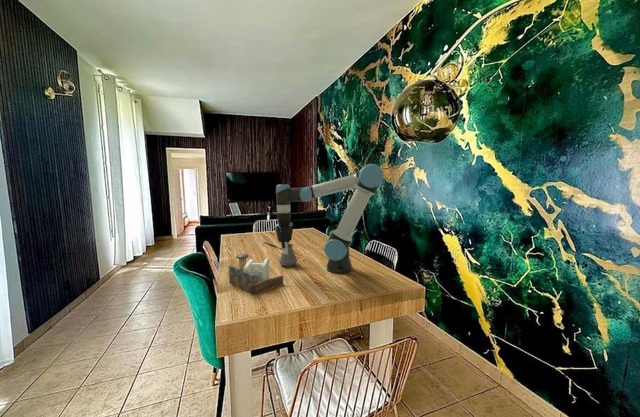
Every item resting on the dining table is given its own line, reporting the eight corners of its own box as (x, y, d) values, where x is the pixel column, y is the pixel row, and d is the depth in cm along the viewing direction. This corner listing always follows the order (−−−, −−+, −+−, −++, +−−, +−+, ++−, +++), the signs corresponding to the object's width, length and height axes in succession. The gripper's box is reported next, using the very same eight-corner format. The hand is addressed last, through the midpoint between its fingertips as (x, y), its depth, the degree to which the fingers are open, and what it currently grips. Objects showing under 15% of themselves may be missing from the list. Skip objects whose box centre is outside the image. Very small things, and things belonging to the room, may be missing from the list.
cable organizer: (265, 289, 127) (264, 265, 126) (243, 289, 127) (242, 266, 126) (269, 278, 142) (269, 257, 141) (250, 278, 142) (249, 257, 141)
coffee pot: (297, 262, 171) (297, 239, 170) (296, 267, 160) (296, 243, 159) (265, 262, 170) (264, 240, 169) (261, 268, 159) (261, 244, 158)
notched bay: (283, 283, 134) (282, 266, 133) (252, 294, 121) (252, 275, 120) (259, 273, 149) (258, 258, 148) (229, 282, 136) (228, 265, 135)
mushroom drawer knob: (251, 272, 151) (250, 255, 151) (240, 275, 146) (239, 257, 146) (245, 269, 156) (244, 253, 155) (234, 272, 151) (233, 255, 150)
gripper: (288, 210, 153) (290, 250, 155) (270, 213, 143) (272, 255, 145) (297, 211, 147) (298, 252, 149) (278, 213, 138) (280, 257, 140)
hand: (285, 253), depth 147 cm, fingers closed
